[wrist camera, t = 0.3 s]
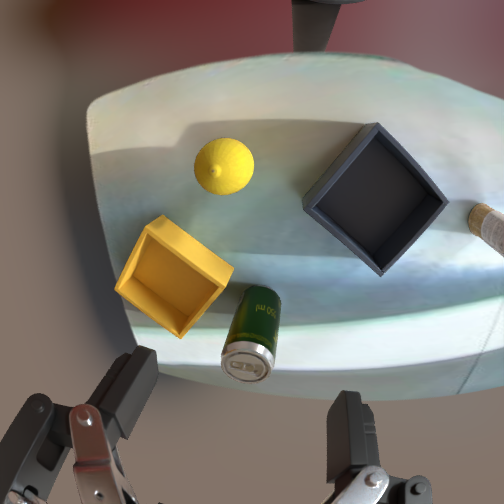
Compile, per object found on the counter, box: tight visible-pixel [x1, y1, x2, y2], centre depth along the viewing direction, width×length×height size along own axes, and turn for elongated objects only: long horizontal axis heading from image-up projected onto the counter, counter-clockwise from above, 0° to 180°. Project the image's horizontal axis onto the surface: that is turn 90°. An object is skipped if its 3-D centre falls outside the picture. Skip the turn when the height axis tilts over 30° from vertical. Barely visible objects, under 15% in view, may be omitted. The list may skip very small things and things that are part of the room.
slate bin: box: [302, 122, 449, 277], centre depth 26 cm, size 11×11×5 cm
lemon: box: [194, 138, 254, 195], centre depth 26 cm, size 6×6×8 cm
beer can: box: [221, 285, 281, 384], centre depth 30 cm, size 5×5×12 cm
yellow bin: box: [114, 215, 234, 339], centre depth 34 cm, size 11×11×5 cm
